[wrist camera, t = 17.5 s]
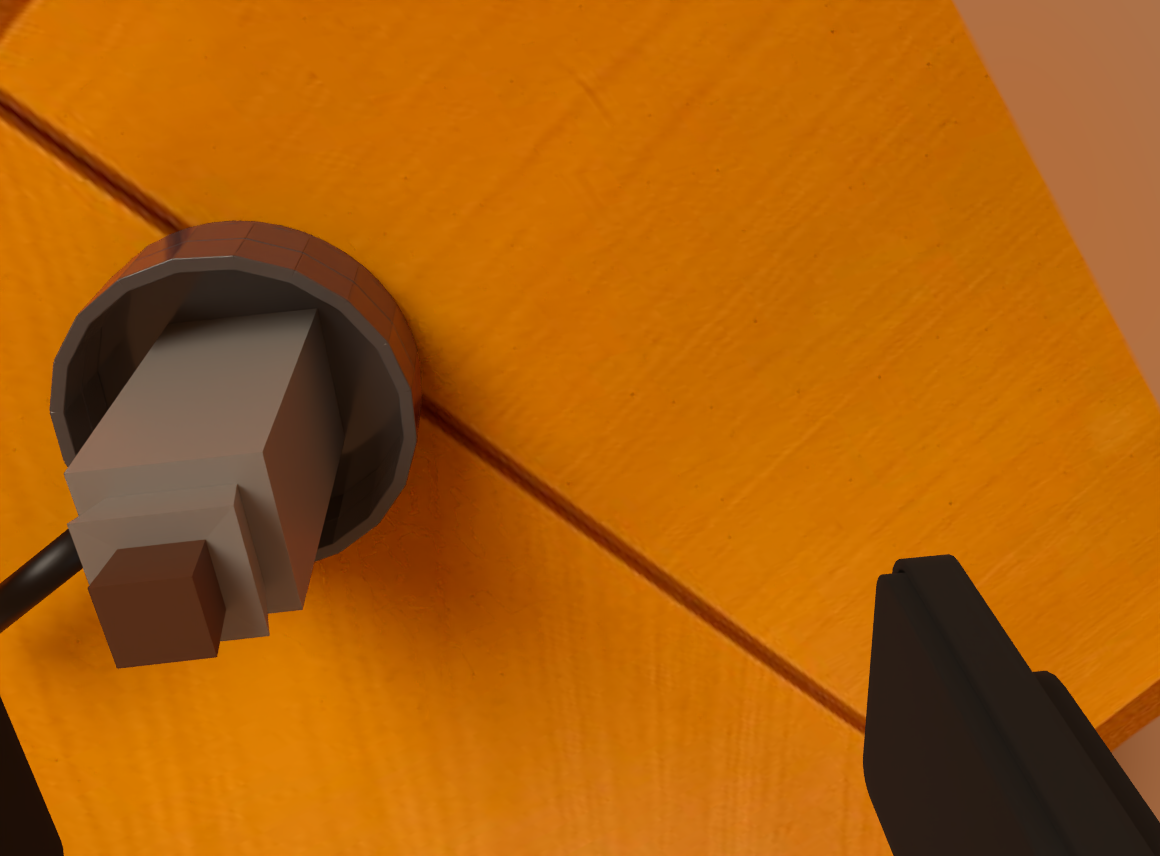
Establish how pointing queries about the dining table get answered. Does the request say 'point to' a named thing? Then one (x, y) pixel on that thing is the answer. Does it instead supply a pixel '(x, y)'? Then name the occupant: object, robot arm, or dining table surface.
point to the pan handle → (38, 578)
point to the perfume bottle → (208, 486)
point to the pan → (250, 287)
